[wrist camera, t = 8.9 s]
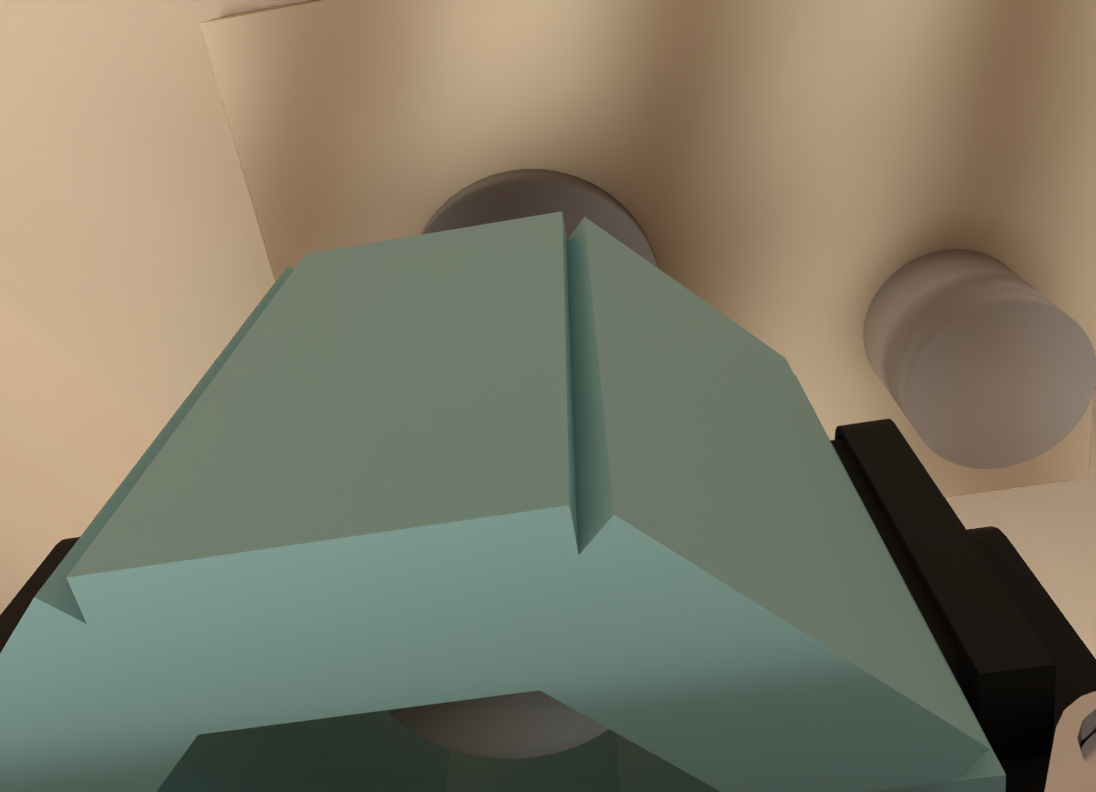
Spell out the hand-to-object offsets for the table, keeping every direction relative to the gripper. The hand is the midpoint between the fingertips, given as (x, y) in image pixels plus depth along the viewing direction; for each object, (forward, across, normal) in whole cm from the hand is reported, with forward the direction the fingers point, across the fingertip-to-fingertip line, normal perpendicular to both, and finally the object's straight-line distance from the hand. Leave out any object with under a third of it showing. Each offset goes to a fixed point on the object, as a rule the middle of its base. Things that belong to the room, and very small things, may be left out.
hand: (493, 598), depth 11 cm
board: (+11, -3, 0) cm, 12 cm away
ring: (+1, 0, 0) cm, 1 cm away
